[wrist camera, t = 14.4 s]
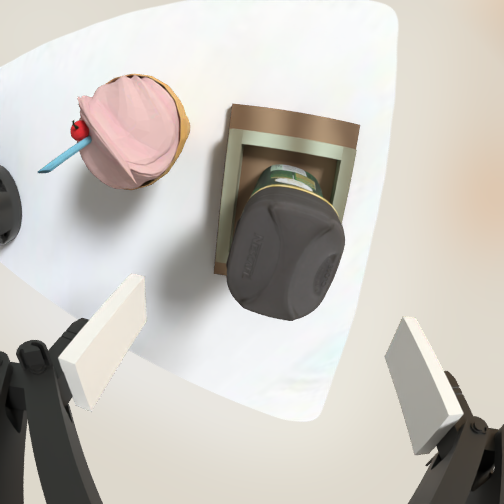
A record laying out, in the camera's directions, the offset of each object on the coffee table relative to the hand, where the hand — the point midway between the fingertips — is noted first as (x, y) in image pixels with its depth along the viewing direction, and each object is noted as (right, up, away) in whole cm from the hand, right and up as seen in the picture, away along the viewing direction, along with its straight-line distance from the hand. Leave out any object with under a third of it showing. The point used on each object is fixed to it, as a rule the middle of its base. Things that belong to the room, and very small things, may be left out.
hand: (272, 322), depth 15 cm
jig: (+3, +10, +23) cm, 25 cm away
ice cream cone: (-11, +19, +21) cm, 30 cm away
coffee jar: (+3, +9, +23) cm, 25 cm away
